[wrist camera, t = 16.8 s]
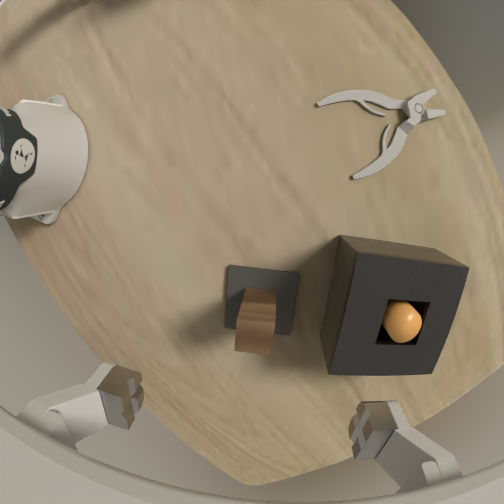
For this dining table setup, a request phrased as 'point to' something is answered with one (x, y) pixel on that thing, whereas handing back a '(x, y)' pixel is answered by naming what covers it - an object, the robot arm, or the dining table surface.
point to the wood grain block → (256, 322)
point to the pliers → (410, 108)
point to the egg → (401, 320)
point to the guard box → (375, 301)
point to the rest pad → (262, 280)
